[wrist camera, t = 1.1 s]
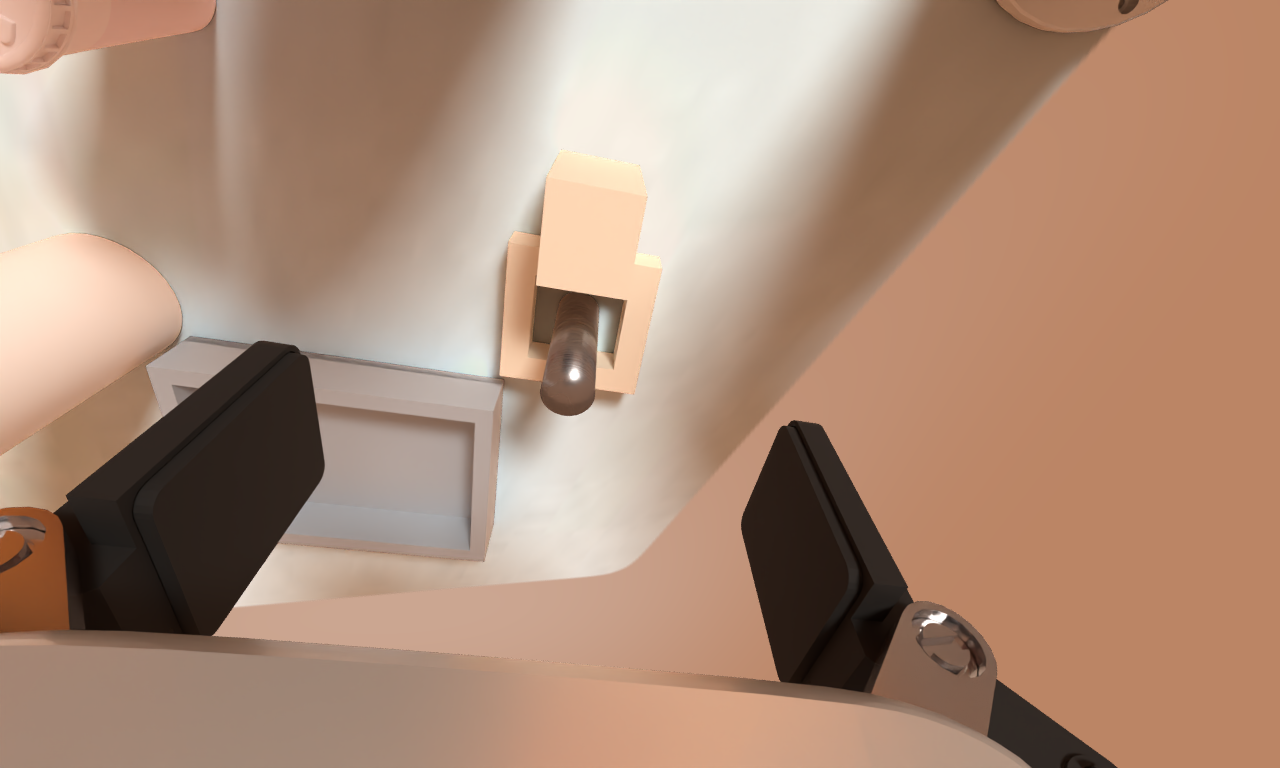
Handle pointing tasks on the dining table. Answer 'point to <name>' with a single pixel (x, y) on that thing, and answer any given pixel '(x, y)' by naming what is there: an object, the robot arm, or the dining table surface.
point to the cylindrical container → (74, 326)
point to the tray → (380, 450)
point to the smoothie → (88, 27)
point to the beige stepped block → (583, 265)
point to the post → (572, 356)
